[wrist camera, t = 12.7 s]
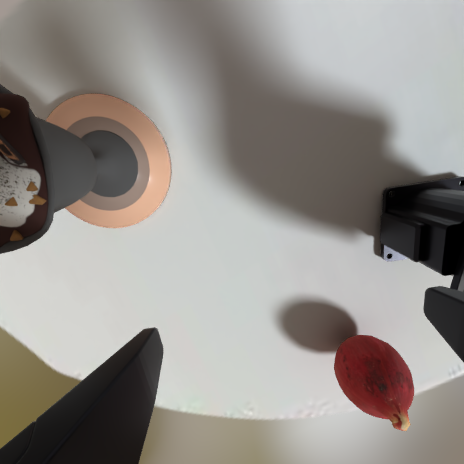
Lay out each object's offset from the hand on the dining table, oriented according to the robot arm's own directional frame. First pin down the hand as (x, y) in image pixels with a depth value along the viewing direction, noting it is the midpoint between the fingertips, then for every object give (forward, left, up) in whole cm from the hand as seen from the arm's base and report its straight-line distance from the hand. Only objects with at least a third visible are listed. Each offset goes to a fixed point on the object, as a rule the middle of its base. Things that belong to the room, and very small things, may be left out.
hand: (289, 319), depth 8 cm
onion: (-8, +14, -13) cm, 21 cm away
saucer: (+11, -6, -13) cm, 18 cm away
